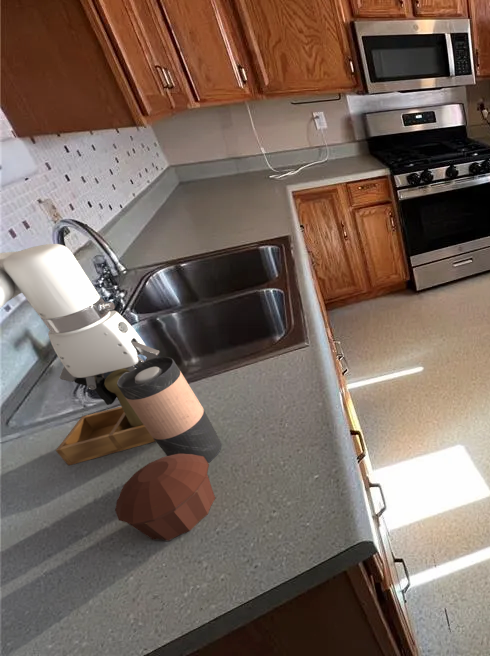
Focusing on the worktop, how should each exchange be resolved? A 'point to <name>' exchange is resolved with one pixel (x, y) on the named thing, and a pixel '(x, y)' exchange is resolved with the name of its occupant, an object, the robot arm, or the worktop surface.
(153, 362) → the travel mug
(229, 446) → the worktop surface
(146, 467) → the muffin
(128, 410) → the cork
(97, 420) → the tray
